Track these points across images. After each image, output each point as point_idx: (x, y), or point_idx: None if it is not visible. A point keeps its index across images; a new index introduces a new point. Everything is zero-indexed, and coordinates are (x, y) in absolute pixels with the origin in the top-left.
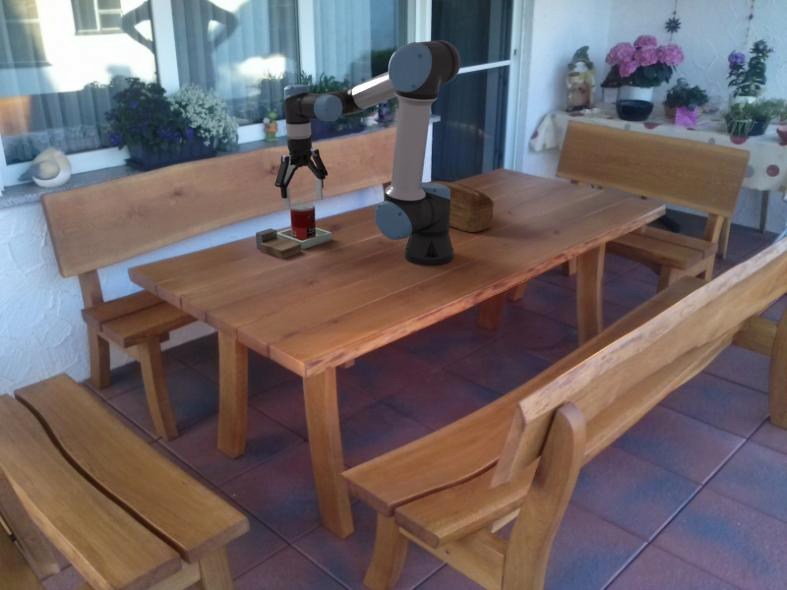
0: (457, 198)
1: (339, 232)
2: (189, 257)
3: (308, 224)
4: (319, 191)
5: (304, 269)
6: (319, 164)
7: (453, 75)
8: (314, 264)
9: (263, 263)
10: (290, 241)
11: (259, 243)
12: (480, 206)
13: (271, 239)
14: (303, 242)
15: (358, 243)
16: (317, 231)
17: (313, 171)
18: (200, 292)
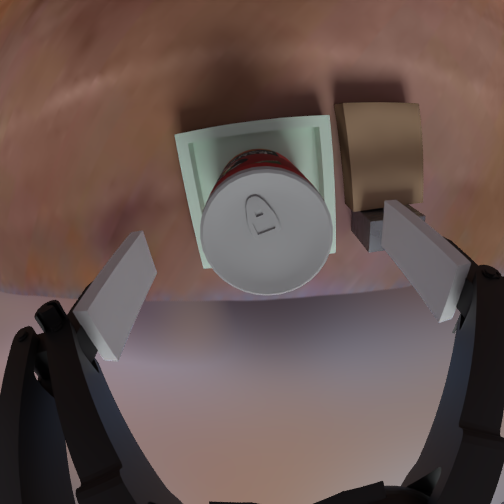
0: None
1: (125, 183)
2: (489, 263)
3: (272, 156)
4: (129, 266)
5: (397, 9)
6: (29, 432)
7: None
8: (359, 7)
9: (450, 119)
10: (353, 149)
11: None
12: None
13: (381, 210)
14: (320, 115)
15: (135, 60)
16: (199, 194)
17: (110, 406)
18: None
